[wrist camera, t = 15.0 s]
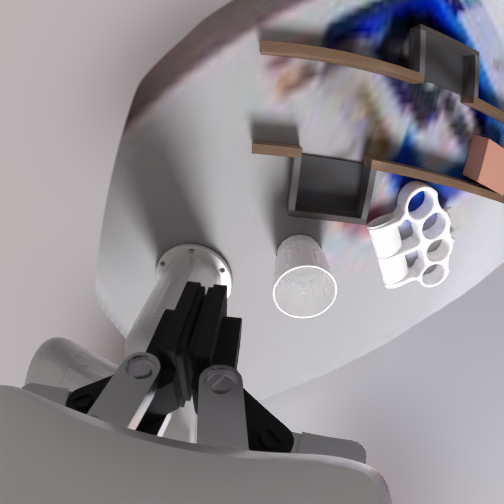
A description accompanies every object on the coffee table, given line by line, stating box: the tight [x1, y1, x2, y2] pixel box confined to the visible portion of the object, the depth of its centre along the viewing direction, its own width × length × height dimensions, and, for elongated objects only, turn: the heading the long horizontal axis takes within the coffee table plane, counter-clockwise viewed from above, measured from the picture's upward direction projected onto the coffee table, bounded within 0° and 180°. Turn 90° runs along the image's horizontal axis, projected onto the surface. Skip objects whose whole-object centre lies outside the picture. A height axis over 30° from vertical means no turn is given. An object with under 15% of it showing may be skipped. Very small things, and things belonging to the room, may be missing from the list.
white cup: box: [273, 234, 337, 318], centre depth 39 cm, size 8×8×10 cm
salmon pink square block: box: [463, 134, 504, 196], centre depth 32 cm, size 7×7×4 cm
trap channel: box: [252, 24, 504, 225], centre depth 30 cm, size 30×42×6 cm
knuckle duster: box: [367, 181, 455, 288], centre depth 39 cm, size 3×18×15 cm
